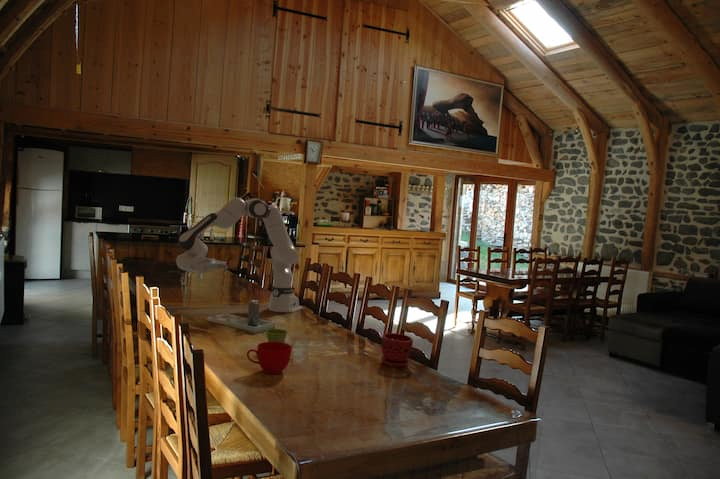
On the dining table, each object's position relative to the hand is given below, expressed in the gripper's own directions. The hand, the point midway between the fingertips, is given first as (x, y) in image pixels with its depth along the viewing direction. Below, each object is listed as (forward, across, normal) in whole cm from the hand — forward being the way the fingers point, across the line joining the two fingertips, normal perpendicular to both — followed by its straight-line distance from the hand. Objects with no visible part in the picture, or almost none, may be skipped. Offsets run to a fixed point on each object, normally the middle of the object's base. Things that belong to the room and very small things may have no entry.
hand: (221, 267), depth 285 cm
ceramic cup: (+72, -51, +28) cm, 92 cm away
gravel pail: (+24, -1, +27) cm, 36 cm away
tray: (+7, -1, +28) cm, 29 cm away
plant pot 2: (+106, -7, +28) cm, 110 cm away
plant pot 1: (+57, -26, +28) cm, 69 cm away
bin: (+24, -1, +28) cm, 37 cm away
